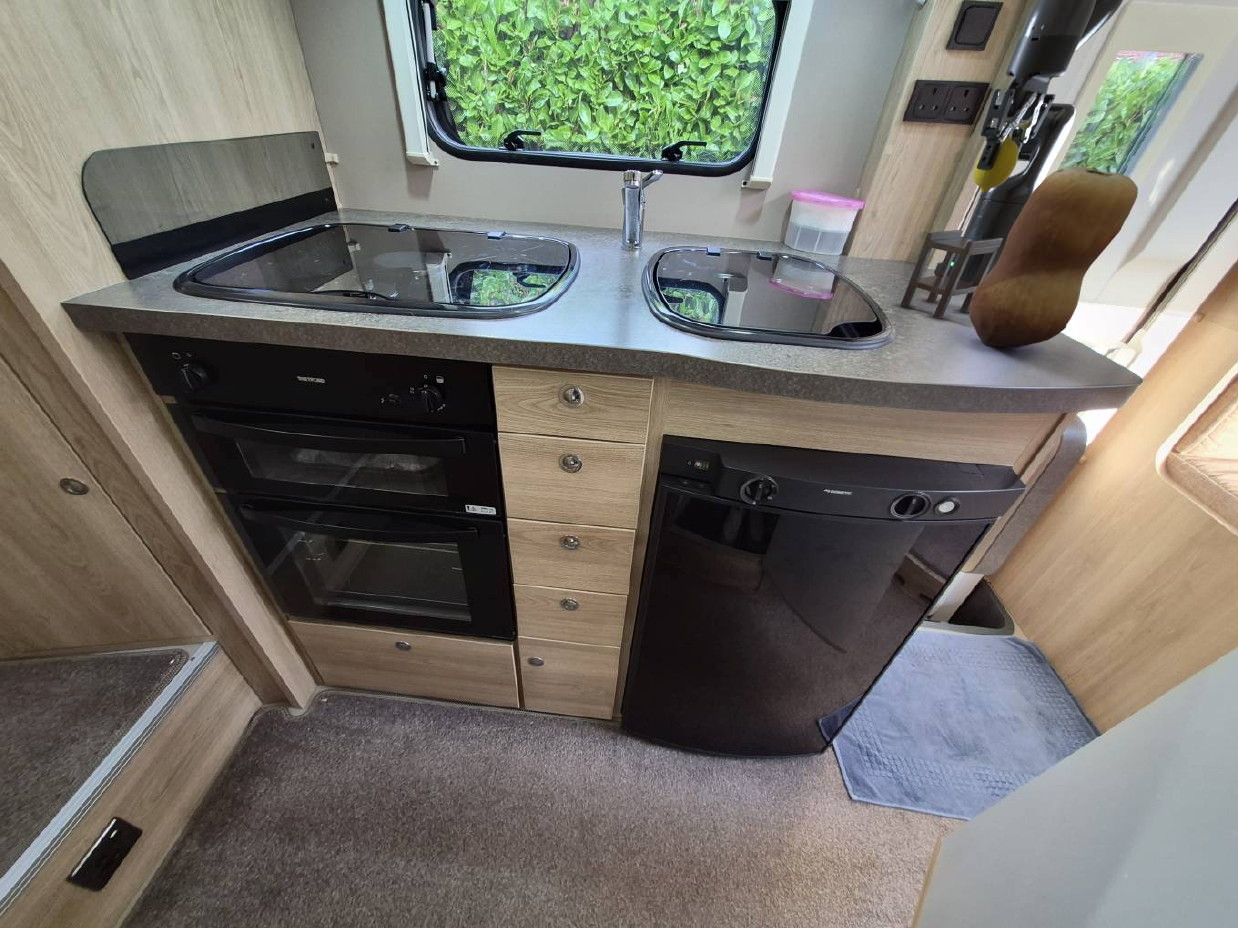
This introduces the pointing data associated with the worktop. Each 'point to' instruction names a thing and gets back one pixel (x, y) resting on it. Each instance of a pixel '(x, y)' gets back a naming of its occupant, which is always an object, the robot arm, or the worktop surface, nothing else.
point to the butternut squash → (1050, 256)
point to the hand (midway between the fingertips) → (993, 169)
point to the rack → (951, 284)
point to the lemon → (998, 167)
